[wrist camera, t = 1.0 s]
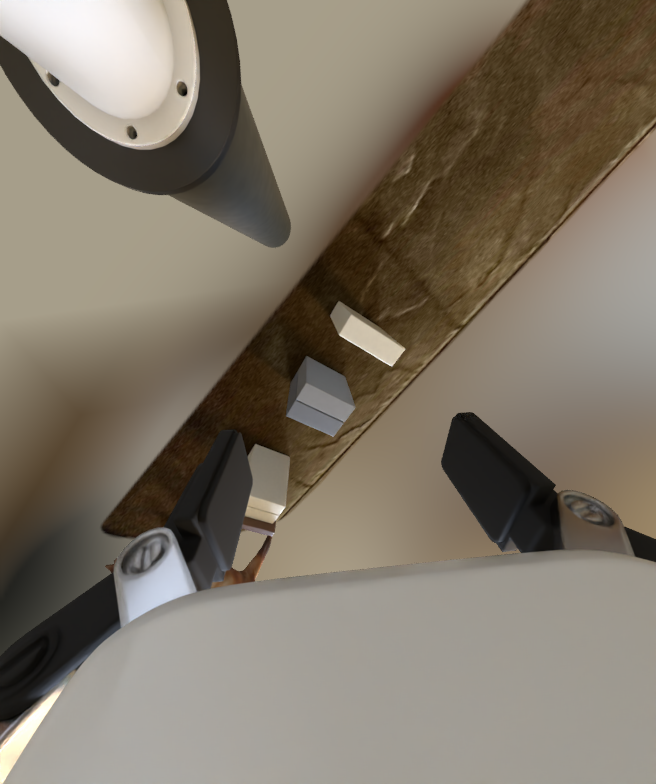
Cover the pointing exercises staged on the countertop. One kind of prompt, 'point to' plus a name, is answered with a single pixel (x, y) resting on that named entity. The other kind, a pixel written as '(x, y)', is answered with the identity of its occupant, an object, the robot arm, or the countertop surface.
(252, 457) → the white books
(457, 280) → the countertop surface
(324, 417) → the grey books
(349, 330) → the white book
